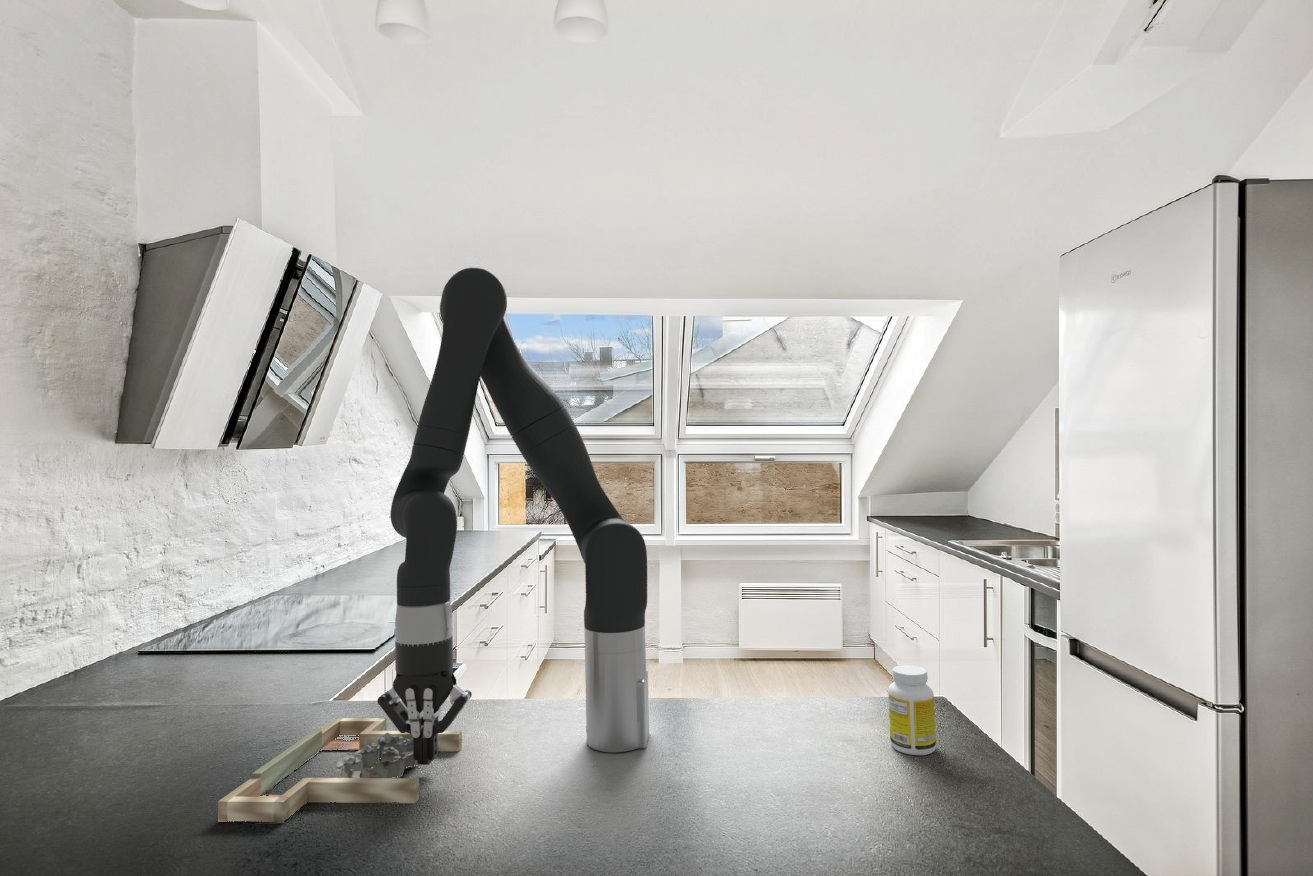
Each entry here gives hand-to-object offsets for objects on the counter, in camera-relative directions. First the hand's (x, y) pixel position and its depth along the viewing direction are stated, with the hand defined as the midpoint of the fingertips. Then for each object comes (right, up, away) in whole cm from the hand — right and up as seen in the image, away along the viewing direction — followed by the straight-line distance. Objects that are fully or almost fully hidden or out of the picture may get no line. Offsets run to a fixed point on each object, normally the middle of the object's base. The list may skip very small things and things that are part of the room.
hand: (425, 762), depth 93 cm
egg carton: (-6, -2, +1) cm, 7 cm away
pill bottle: (+69, 0, +4) cm, 69 cm away
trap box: (-9, -2, +1) cm, 9 cm away
